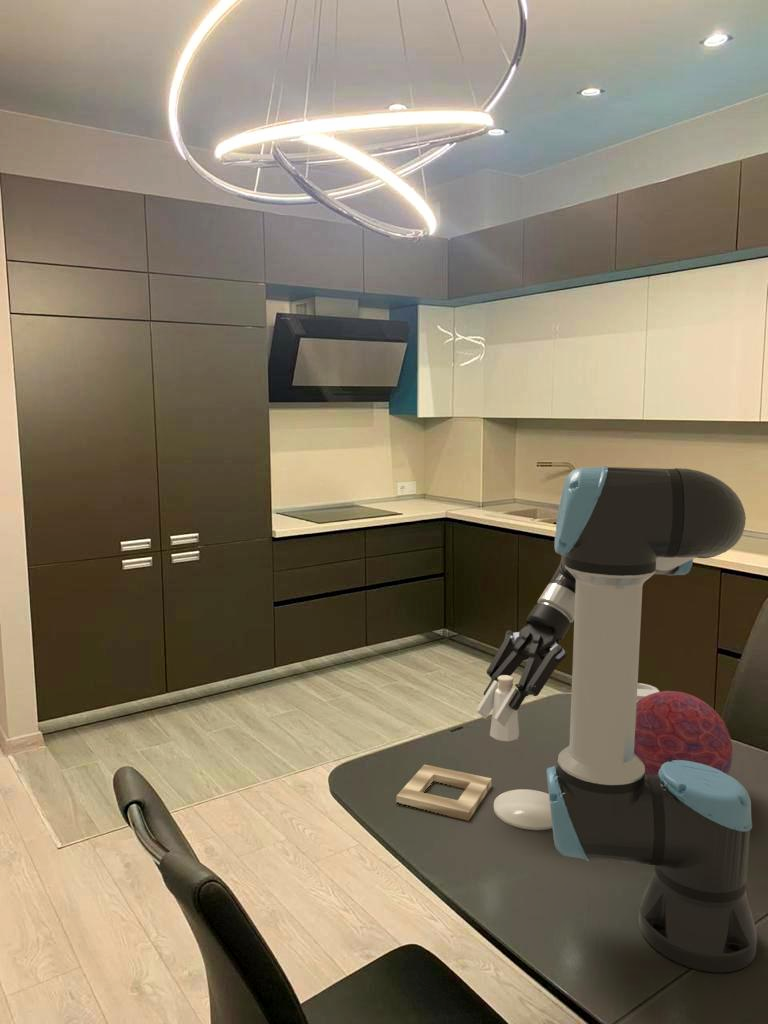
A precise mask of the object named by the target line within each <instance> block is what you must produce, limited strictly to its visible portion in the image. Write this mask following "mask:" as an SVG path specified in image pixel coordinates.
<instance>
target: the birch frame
mask: <svg viewBox="0 0 768 1024" xmlns="http://www.w3.org/2000/svg"><path fill="white" fill-rule="evenodd" d="M433 781H435V782H439V783H438V784H440V783H443V784H442V785H445V784H447V785H446V786H449V785H451V786H450V787H455V788H459V789H464V791H463V792H462V793H461V795H460V796H459V798H458V799H454V798H449V797H443V796H440V795H436V794H431V793H428V792H425V790H426V789H427V788H428V787H429V786H430V785H431V786H432V784H433V783H435V782H433ZM432 782H433V783H432ZM431 783H432V784H431ZM492 784H493V783H492V778H491V777H486V776H481V775H477V774H472V773H468V772H463V771H458V770H454V769H448V768H443V767H440V766H434V765H429V764H423V765H422V766H421V768H420V769H418V771H417V772H416V773H415V774H414V776H413V777H412V778H411V779H409V781H408V782H407V783H406V784H405V786H403V788H402V789H401V790H400V791H399V792H398V793H397V795H396V801H395V802H399V803H402V804H406V805H410V806H413V807H417V808H420V809H424V810H423V811H425V810H428V811H427V812H429V811H431V812H430V813H433V812H434V814H437V813H439V814H438V815H442V814H443V815H442V816H446V815H447V817H451V818H455V819H459V820H463V821H467V822H468V821H470V819H471V818H472V816H473V815H474V814H475V812H476V810H477V809H478V807H480V804H481V803H482V801H483V800H484V798H485V797H486V795H487V794H488V792H489V791H490V789H491V788H492ZM431 786H430V787H431ZM430 787H429V788H430ZM429 788H428V789H429ZM428 789H427V790H428ZM427 790H426V791H427ZM424 792H425V793H424ZM420 809H419V810H420Z"/></svg>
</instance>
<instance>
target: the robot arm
mask: <svg viewBox="0 0 768 1024" xmlns="http://www.w3.org/2000/svg"><path fill="white" fill-rule="evenodd" d="M746 518H747V517H746V511H745V508H744V505H743V503H742V501H741V499H740V497H739V496H738V494H737V493H736V492H735V491H734V489H733V488H731V487H730V486H729V485H728V484H727V483H725V482H724V481H722V480H721V479H719V478H717V477H715V476H713V475H712V474H709V473H706V472H703V471H700V470H695V469H691V468H681V467H680V468H678V467H677V468H660V467H659V468H658V467H657V468H655V467H653V468H652V467H620V466H619V467H617V466H616V467H615V466H605V465H604V466H595V467H580V468H579V467H578V468H575V469H574V470H572V471H571V472H570V473H568V475H567V477H566V478H565V481H564V484H563V488H562V491H561V495H560V500H559V506H558V513H557V517H556V525H555V534H554V543H553V544H554V545H553V546H554V551H555V553H556V554H558V555H560V556H561V557H560V562H559V566H558V568H557V569H556V571H555V572H554V573H553V574H554V575H553V576H552V578H551V579H550V581H549V583H548V584H547V585H546V587H545V588H544V590H543V592H542V593H541V594H540V597H539V598H538V600H537V603H536V604H535V605H534V606H533V608H532V609H531V611H530V612H529V614H528V616H527V617H526V624H525V626H523V627H522V628H521V629H520V630H519V631H517V632H513V631H512V630H511V629H509V630H507V631H506V632H505V637H504V641H502V644H501V645H500V647H499V649H498V650H497V652H496V653H495V656H494V658H493V660H492V661H491V663H490V665H489V666H488V668H487V670H486V674H487V676H489V677H490V682H489V684H488V686H487V687H486V688H485V690H484V691H483V695H482V696H483V698H482V699H481V700H480V703H479V705H477V707H476V709H475V711H476V712H477V713H478V714H479V716H481V717H482V718H483V719H485V720H487V718H488V717H489V715H490V713H491V712H492V711H493V704H494V696H495V691H496V689H497V688H498V677H499V676H501V675H508V676H511V677H512V675H513V673H515V671H517V668H519V666H520V665H521V664H522V663H523V662H524V661H526V660H527V661H526V663H525V666H524V669H523V671H522V674H521V676H520V679H519V682H518V683H515V685H514V686H512V689H511V690H510V692H509V694H508V695H507V697H506V698H505V700H504V702H503V703H502V705H501V707H500V708H499V710H498V712H497V713H496V715H495V717H494V719H495V720H496V721H497V722H498V723H499V724H500V725H501V726H503V727H505V725H506V723H507V722H508V720H509V718H510V717H511V715H512V713H513V712H514V710H517V711H518V710H519V709H520V707H521V705H522V704H523V702H524V701H525V698H526V697H528V696H533V697H537V696H538V695H540V694H541V691H542V690H543V688H544V686H546V683H548V680H549V678H550V677H551V675H552V674H553V673H554V671H555V669H556V668H557V666H558V665H559V663H561V662H562V661H563V660H564V659H565V658H566V657H567V655H568V653H567V651H565V649H564V648H563V647H562V646H561V645H560V641H563V639H564V637H565V635H567V632H568V630H569V629H570V627H571V623H573V643H572V646H573V647H572V673H571V692H570V693H571V696H570V697H571V698H570V699H571V700H570V702H571V703H570V723H569V724H570V725H569V745H568V746H566V747H565V748H564V749H562V750H561V751H560V752H559V753H558V755H557V757H558V758H557V766H554V765H553V766H549V767H547V768H546V779H547V790H548V794H549V800H550V810H551V819H552V837H553V842H554V843H553V844H554V847H555V849H556V850H557V852H558V853H559V854H561V855H563V856H564V857H570V858H577V859H583V860H585V861H587V862H590V861H592V860H593V861H594V860H595V861H605V862H614V863H623V864H625V863H626V864H635V865H645V866H654V872H653V874H652V876H651V877H650V881H649V882H648V885H647V887H646V889H645V891H644V893H643V896H642V897H641V901H640V903H639V908H638V909H639V910H638V912H639V913H638V926H639V927H638V928H639V930H640V933H641V934H642V936H643V937H644V939H645V940H646V942H647V943H648V944H649V945H650V946H651V947H652V948H653V949H654V950H656V951H657V952H658V953H659V954H661V955H662V956H664V957H665V958H667V959H669V960H672V961H673V962H675V963H677V964H679V965H682V966H683V967H687V968H690V969H693V970H697V971H702V972H708V973H730V972H736V971H739V970H741V969H744V968H746V967H748V966H749V965H750V964H752V962H753V961H754V960H755V957H756V954H757V945H758V935H757V934H758V932H757V928H756V924H755V922H754V921H755V920H754V917H753V914H752V910H751V906H750V903H749V900H748V895H747V878H748V865H749V852H750V850H749V849H750V840H751V839H750V838H751V830H752V828H753V821H752V801H751V797H750V794H749V793H748V791H747V789H746V788H745V787H744V786H743V784H742V783H740V782H739V781H738V780H737V779H736V778H734V777H732V776H731V775H729V773H728V774H726V773H724V772H722V771H720V770H718V769H715V768H713V767H710V766H707V765H704V764H700V763H696V762H691V761H685V760H673V761H671V762H666V763H664V764H663V765H662V766H661V768H660V769H659V772H658V775H646V774H645V766H644V764H643V762H642V761H641V760H640V759H639V758H638V757H637V756H636V755H635V754H634V746H635V725H636V705H637V685H638V683H639V682H638V681H639V664H640V663H639V661H640V643H641V642H640V641H641V621H642V620H641V619H642V603H643V601H642V600H643V599H642V598H643V585H644V584H645V582H646V581H647V580H649V579H651V577H652V576H654V575H663V576H667V577H668V576H685V575H688V574H689V573H690V571H691V568H692V566H693V562H694V559H697V558H698V559H708V558H711V559H712V558H714V557H718V556H720V555H722V554H724V553H726V552H728V551H730V549H732V548H733V547H735V546H736V544H738V542H739V541H740V539H741V538H742V536H743V534H744V531H745V527H746Z"/></svg>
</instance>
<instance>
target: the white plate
mask: <svg viewBox="0 0 768 1024" xmlns="http://www.w3.org/2000/svg"><path fill="white" fill-rule="evenodd" d="M493 812H494V814H495V815H496V816H497V818H498V819H499V820H501V821H503V823H505V824H507V825H509V826H511V827H514V828H519V829H521V830H528V831H546V830H547V831H548V830H553V828H552V819H551V810H550V800H549V793H547V792H544V791H539V790H534V789H524V788H523V789H522V788H521V789H511V790H508V791H504V792H503V793H501V794H499V795H498V796H496V797H495V799H494V801H493Z"/></svg>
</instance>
